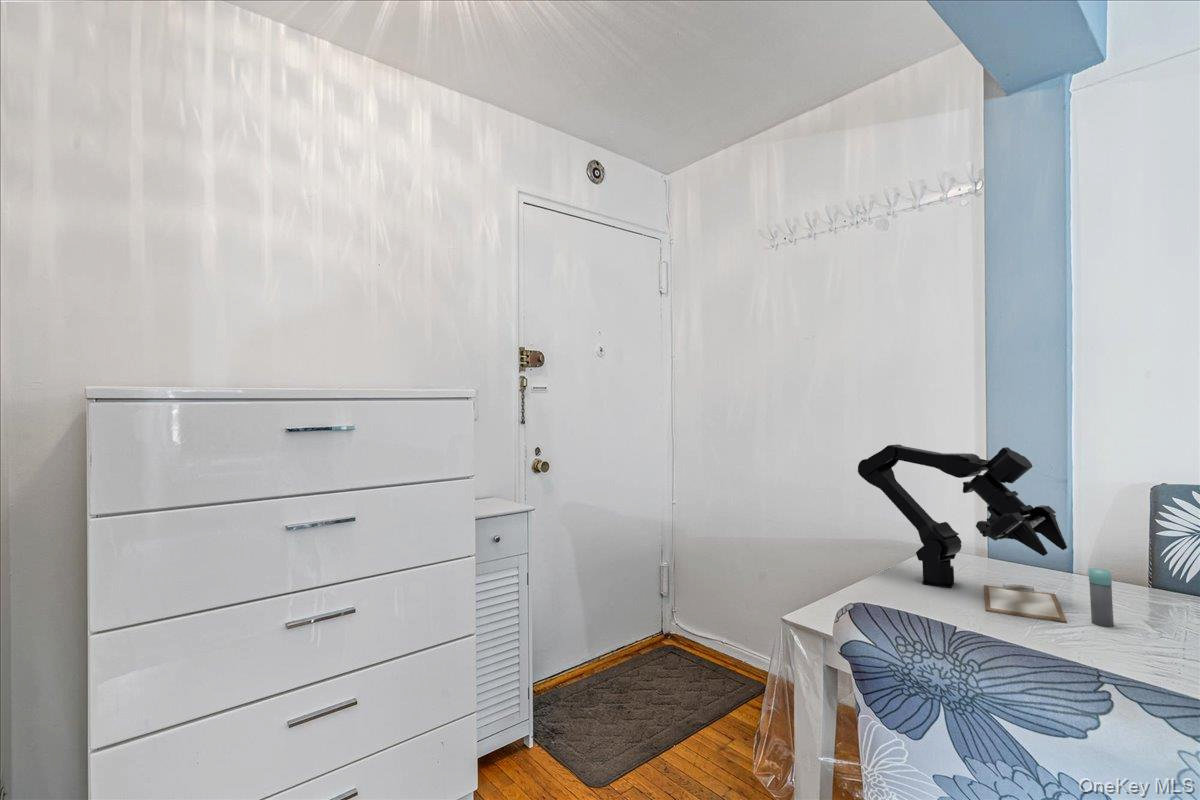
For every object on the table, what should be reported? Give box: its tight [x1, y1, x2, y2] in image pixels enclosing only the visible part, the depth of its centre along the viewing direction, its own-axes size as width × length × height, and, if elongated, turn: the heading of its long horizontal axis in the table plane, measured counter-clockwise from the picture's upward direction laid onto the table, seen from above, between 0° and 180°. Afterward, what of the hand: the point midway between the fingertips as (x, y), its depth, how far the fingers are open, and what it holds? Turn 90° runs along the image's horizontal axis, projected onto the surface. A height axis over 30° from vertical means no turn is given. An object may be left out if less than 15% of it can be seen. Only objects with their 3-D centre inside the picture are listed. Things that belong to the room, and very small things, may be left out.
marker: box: [1087, 567, 1115, 628], centre depth 114 cm, size 4×4×11 cm
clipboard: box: [983, 582, 1068, 624], centre depth 127 cm, size 14×20×2 cm
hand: (1055, 551), depth 120 cm, fingers open, 9 cm apart
